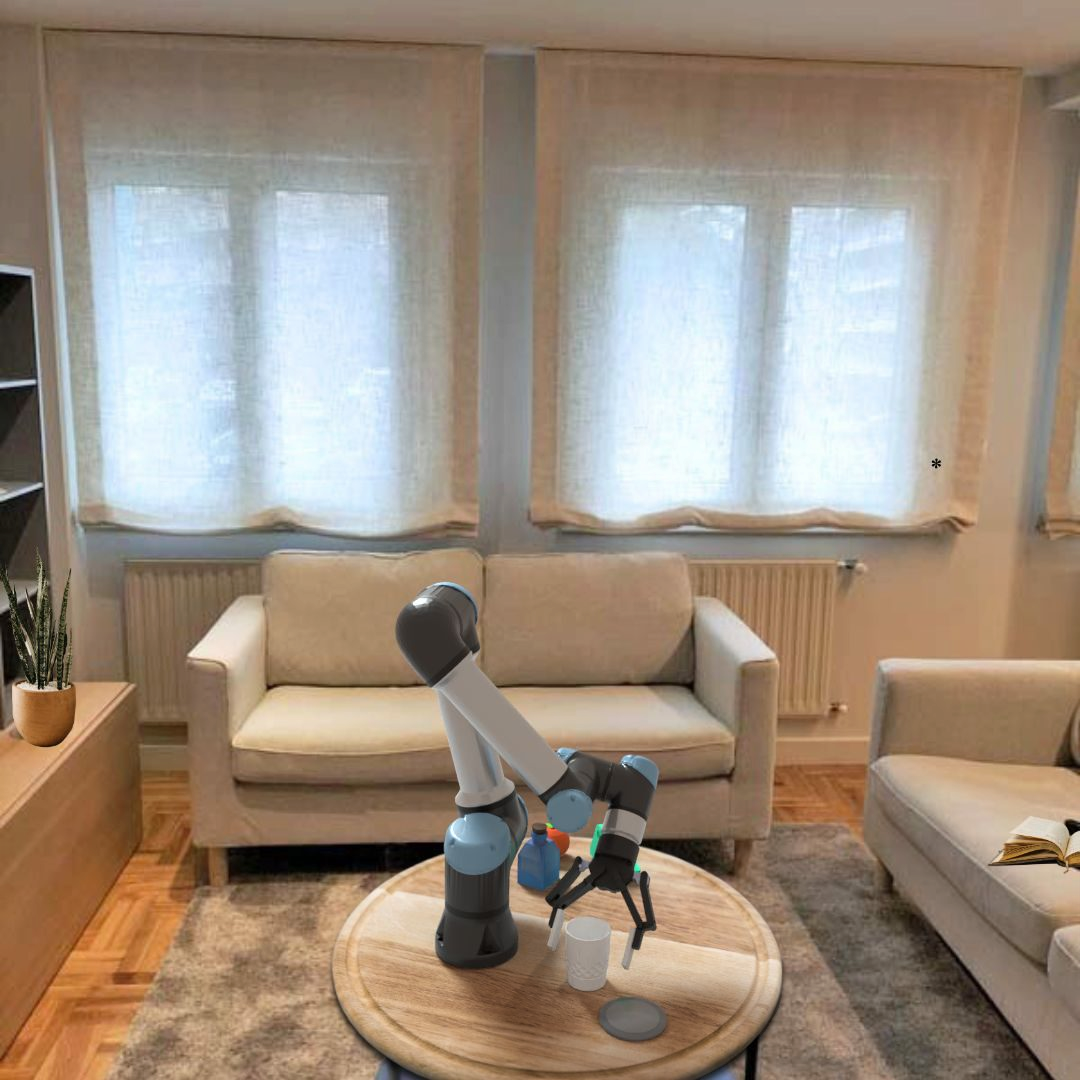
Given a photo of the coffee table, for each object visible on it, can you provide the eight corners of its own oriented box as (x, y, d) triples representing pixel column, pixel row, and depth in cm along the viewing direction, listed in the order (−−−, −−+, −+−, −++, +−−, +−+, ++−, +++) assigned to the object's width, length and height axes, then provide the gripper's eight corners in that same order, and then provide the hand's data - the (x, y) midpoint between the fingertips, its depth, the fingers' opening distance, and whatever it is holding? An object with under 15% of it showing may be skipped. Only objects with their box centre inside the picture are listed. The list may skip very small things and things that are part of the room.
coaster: (589, 1029, 184) (589, 1025, 184) (613, 993, 193) (613, 989, 193) (653, 1048, 179) (653, 1044, 179) (675, 1010, 189) (675, 1006, 189)
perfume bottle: (559, 878, 232) (560, 824, 229) (543, 891, 227) (544, 835, 224) (533, 870, 235) (534, 816, 233) (517, 882, 230) (518, 827, 227)
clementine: (526, 854, 242) (526, 823, 240) (548, 844, 247) (548, 813, 245) (554, 867, 236) (555, 835, 235) (576, 856, 241) (577, 825, 240)
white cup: (582, 962, 202) (583, 911, 200) (618, 979, 198) (620, 926, 196) (554, 981, 196) (555, 929, 194) (591, 999, 192) (592, 945, 190)
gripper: (690, 861, 203) (661, 981, 193) (561, 833, 213) (527, 946, 202) (683, 846, 197) (652, 969, 187) (551, 818, 207) (515, 934, 197)
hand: (587, 957), depth 195 cm, fingers open, 13 cm apart
